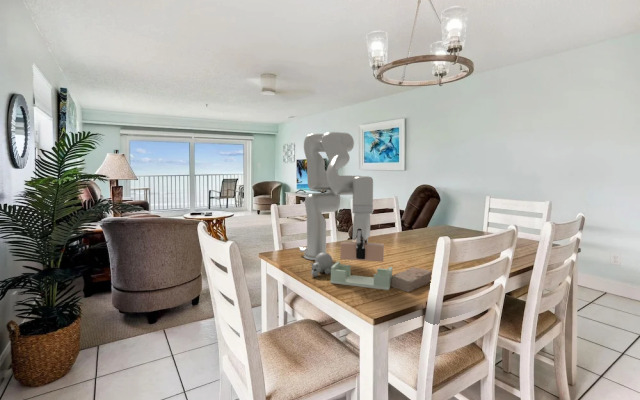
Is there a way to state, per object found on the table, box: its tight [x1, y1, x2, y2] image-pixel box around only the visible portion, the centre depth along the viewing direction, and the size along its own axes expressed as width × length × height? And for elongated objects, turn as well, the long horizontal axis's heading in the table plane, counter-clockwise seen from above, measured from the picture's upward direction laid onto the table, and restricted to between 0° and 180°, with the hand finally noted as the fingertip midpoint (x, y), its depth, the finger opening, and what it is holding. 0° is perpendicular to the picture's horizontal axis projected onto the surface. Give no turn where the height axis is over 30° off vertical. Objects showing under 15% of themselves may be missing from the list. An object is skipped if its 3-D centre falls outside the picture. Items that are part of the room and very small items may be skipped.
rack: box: [330, 261, 393, 291], centre depth 126 cm, size 22×9×6 cm, turn 70°
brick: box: [390, 266, 433, 293], centre depth 125 cm, size 17×8×5 cm, turn 134°
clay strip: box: [339, 241, 385, 263], centre depth 125 cm, size 16×4×6 cm, turn 78°
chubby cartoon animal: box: [310, 252, 335, 278], centre depth 136 cm, size 7×12×8 cm, turn 137°
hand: (362, 256), depth 125 cm, fingers closed on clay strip, 4 cm apart
